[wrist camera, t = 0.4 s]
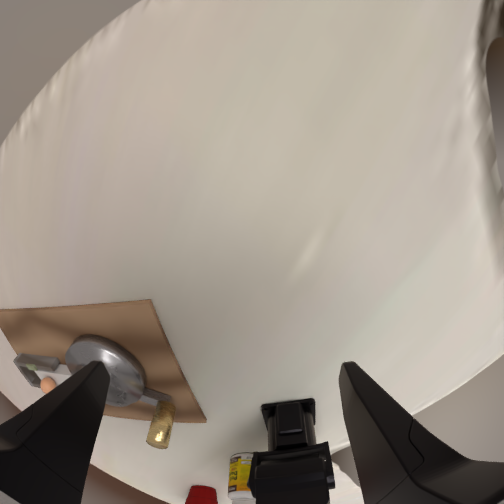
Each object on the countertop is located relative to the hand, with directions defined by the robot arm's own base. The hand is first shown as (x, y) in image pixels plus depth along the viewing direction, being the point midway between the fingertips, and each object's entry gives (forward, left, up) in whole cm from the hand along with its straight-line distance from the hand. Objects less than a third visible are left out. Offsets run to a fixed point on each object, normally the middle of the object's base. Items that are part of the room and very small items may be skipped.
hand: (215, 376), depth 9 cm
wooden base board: (-15, +23, -14) cm, 31 cm away
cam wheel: (-14, +17, -13) cm, 26 cm away
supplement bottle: (-39, +6, -14) cm, 42 cm away
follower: (-15, +27, -13) cm, 34 cm away
